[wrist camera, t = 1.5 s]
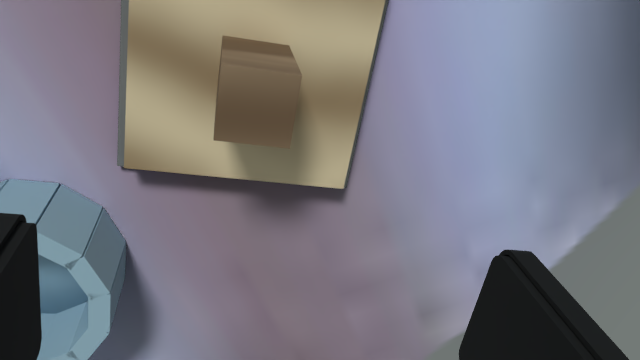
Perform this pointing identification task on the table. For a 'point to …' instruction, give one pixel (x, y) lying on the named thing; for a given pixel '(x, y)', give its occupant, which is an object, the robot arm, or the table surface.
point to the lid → (248, 87)
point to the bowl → (70, 265)
